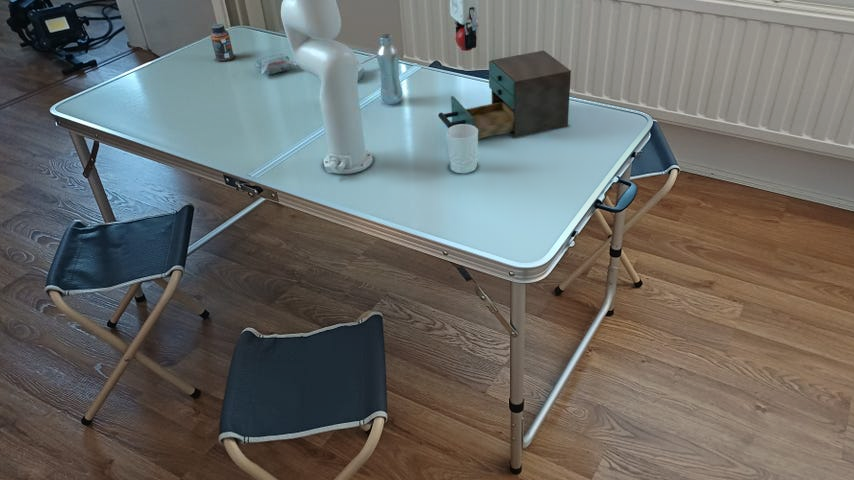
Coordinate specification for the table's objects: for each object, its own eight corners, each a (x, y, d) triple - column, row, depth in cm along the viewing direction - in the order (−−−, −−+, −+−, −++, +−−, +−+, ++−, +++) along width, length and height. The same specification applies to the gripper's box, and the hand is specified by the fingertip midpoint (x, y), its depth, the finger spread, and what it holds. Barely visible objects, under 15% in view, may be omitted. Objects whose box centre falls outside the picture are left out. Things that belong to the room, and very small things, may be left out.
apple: (474, 53, 197) (473, 28, 193) (453, 52, 198) (452, 27, 194) (479, 45, 201) (478, 20, 197) (458, 44, 202) (457, 19, 198)
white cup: (461, 156, 189) (460, 121, 183) (485, 165, 185) (484, 129, 179) (441, 168, 184) (439, 132, 178) (465, 178, 180) (464, 141, 174)
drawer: (453, 149, 191) (452, 122, 187) (434, 125, 203) (432, 99, 198) (524, 133, 197) (525, 107, 192) (502, 111, 208) (502, 86, 204)
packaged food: (298, 71, 237) (295, 57, 234) (262, 80, 233) (259, 65, 230) (289, 63, 243) (287, 49, 240) (255, 71, 239) (251, 56, 236)
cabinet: (509, 138, 196) (510, 82, 186) (486, 115, 207) (485, 61, 198) (567, 126, 200) (571, 70, 191) (541, 103, 212) (543, 50, 202)
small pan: (324, 78, 232) (322, 67, 230) (367, 62, 242) (365, 50, 240) (345, 87, 226) (343, 76, 224) (388, 70, 236) (387, 58, 234)
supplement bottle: (233, 61, 247) (225, 28, 240) (215, 62, 246) (207, 29, 239) (235, 54, 251) (227, 21, 244) (217, 56, 251) (209, 23, 244)
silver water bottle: (404, 97, 219) (399, 31, 207) (401, 107, 214) (395, 40, 201) (383, 97, 219) (376, 31, 207) (379, 106, 214) (372, 40, 202)
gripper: (438, -31, 193) (442, 36, 204) (462, -13, 180) (464, 57, 191) (465, -35, 195) (467, 32, 206) (490, -18, 182) (491, 52, 193)
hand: (466, 43), depth 199 cm, fingers closed on apple, 5 cm apart
